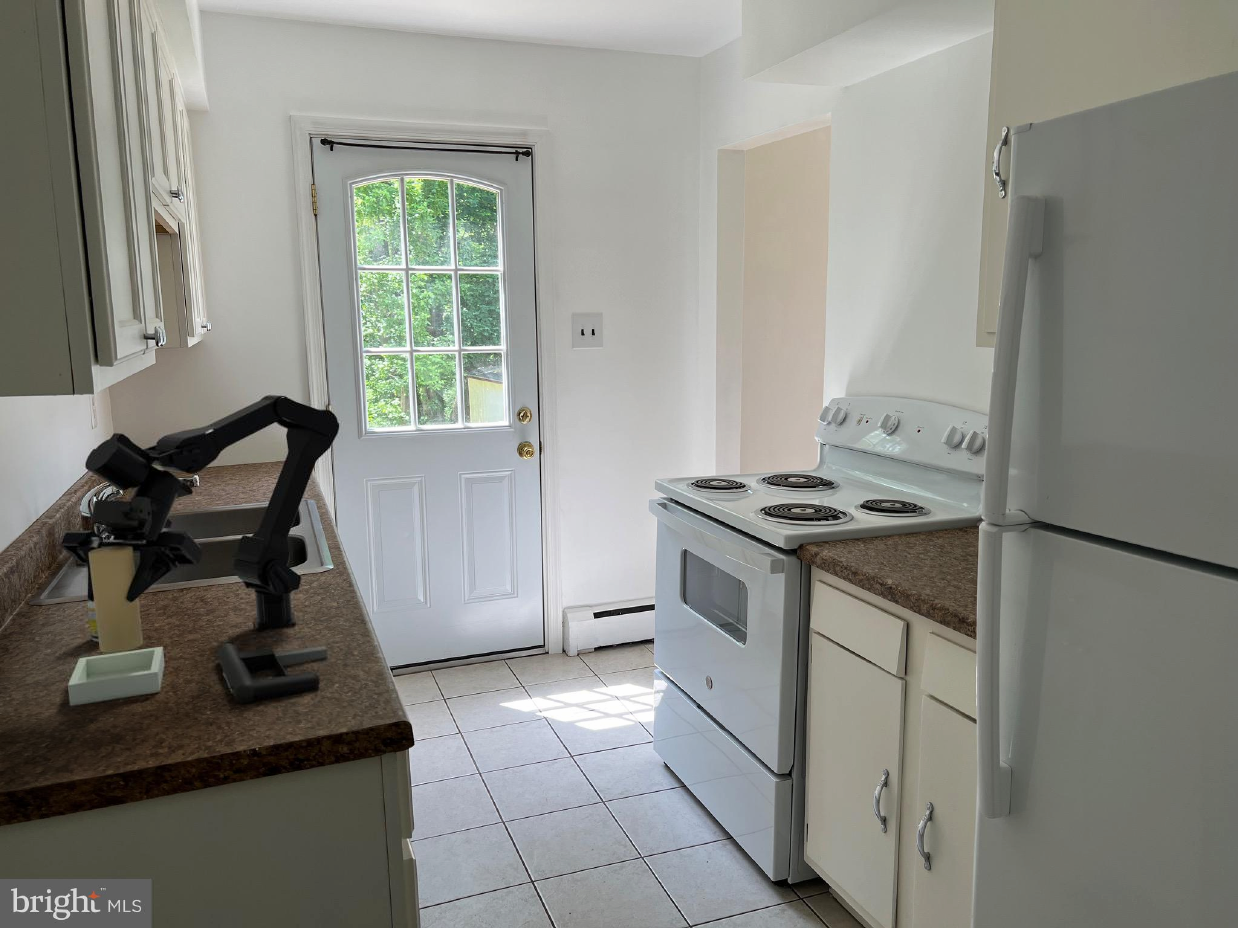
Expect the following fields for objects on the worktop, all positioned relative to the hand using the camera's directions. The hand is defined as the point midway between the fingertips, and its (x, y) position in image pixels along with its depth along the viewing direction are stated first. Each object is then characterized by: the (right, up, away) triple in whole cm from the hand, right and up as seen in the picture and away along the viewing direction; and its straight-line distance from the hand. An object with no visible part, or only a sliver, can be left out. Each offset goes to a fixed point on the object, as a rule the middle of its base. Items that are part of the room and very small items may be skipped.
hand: (109, 600), depth 126 cm
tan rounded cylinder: (0, -7, +2) cm, 7 cm away
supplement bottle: (-14, -10, +25) cm, 30 cm away
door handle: (+20, -13, +8) cm, 25 cm away
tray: (-1, -13, +4) cm, 14 cm away
